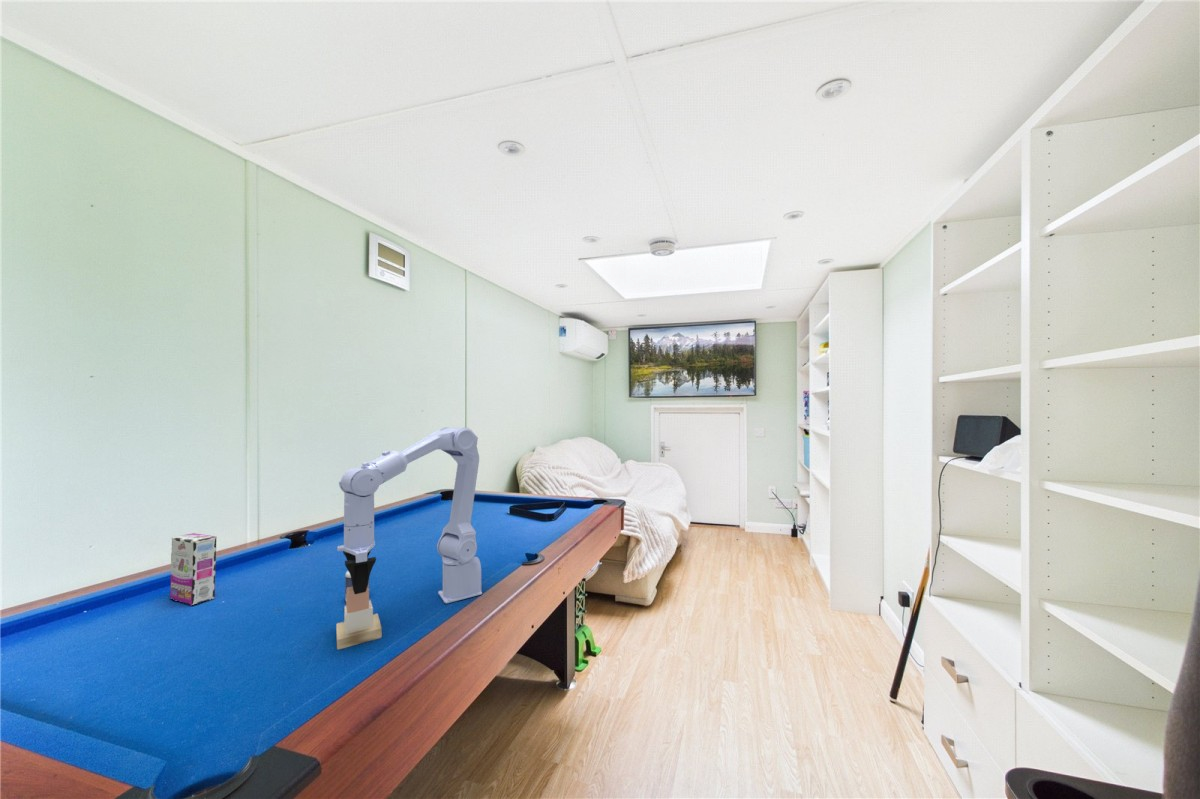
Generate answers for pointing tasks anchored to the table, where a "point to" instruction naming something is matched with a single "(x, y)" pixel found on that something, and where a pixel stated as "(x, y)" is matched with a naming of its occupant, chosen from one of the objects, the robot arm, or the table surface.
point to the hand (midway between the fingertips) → (358, 586)
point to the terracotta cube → (356, 600)
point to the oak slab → (358, 634)
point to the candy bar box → (193, 568)
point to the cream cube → (358, 619)
